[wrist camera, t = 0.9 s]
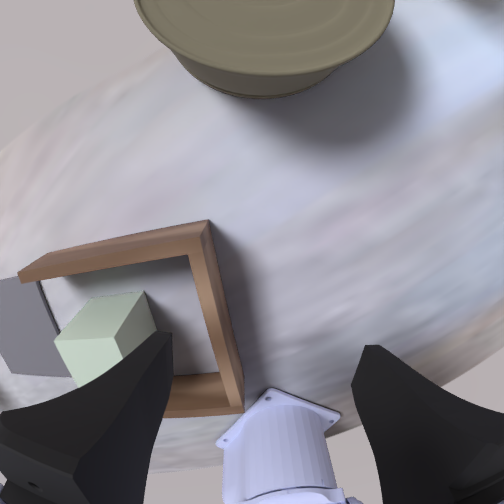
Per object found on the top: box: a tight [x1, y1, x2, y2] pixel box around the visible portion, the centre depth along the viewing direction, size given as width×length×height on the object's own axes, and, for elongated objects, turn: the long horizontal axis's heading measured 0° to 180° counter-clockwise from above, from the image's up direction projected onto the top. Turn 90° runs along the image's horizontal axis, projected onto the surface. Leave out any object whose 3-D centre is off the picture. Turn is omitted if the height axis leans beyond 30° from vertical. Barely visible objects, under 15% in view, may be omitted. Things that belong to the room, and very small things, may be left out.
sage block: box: [54, 291, 157, 388], centre depth 19 cm, size 4×4×6 cm
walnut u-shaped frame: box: [17, 219, 245, 418], centre depth 19 cm, size 13×13×4 cm
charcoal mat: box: [0, 276, 72, 377], centre depth 21 cm, size 10×10×1 cm
